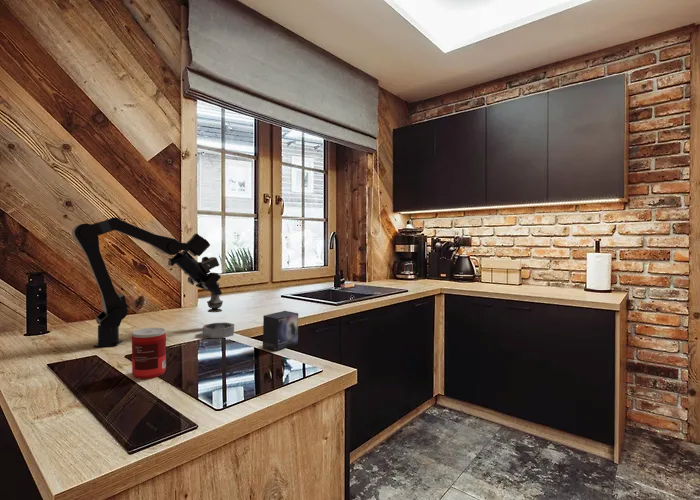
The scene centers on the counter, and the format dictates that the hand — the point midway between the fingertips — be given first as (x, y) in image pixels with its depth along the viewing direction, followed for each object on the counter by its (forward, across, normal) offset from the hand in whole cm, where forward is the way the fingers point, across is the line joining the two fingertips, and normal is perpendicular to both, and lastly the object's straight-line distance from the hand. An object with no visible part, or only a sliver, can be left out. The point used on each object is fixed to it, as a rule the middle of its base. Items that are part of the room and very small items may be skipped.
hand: (218, 293), depth 147 cm
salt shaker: (+4, 0, +6) cm, 7 cm away
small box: (+13, -36, +6) cm, 39 cm away
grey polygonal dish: (+7, -10, +12) cm, 17 cm away
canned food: (-14, -37, +34) cm, 52 cm away
